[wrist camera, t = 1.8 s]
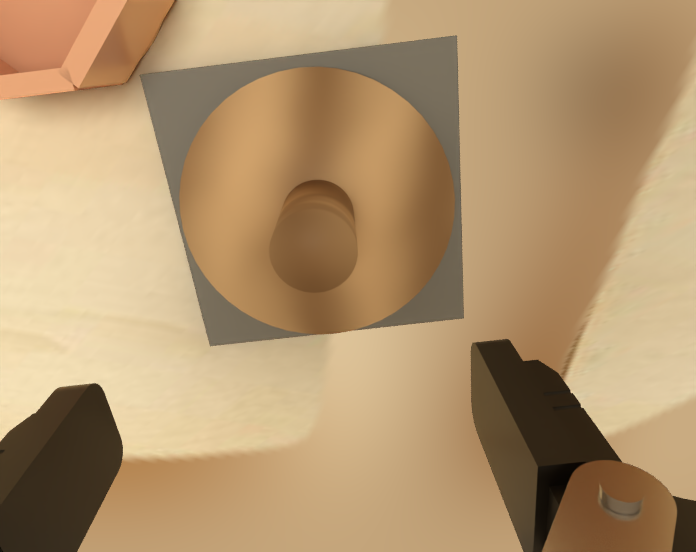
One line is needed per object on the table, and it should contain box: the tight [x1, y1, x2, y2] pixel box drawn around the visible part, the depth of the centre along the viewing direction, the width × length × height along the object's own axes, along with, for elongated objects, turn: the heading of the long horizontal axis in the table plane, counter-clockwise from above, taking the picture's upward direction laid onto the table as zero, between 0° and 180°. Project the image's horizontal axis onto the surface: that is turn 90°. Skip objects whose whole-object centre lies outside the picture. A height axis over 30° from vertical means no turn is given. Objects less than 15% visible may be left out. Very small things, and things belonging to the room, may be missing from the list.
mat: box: [140, 36, 464, 346], centre depth 25 cm, size 14×14×1 cm
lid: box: [179, 67, 455, 334], centre depth 22 cm, size 13×13×6 cm
